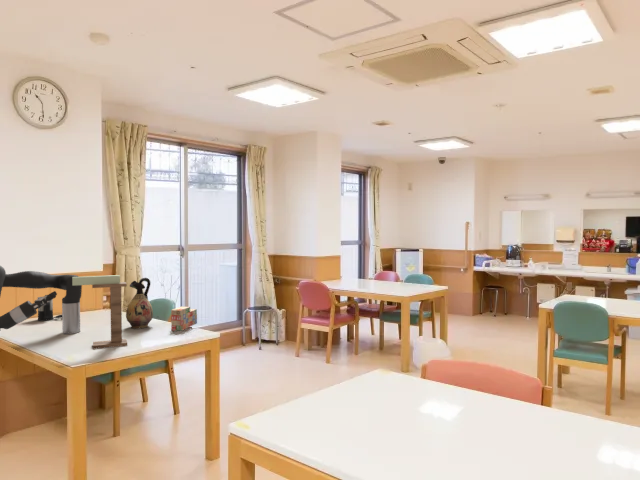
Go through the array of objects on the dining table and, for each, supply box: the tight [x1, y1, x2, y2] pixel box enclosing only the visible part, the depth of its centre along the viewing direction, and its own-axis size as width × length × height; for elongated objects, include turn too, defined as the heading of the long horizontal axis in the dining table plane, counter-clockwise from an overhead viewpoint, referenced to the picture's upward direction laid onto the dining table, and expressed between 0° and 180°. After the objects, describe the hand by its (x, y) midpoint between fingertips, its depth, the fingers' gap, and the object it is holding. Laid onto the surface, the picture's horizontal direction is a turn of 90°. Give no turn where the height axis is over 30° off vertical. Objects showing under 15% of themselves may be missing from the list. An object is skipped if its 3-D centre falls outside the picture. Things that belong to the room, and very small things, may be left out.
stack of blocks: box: [170, 306, 198, 332], centre depth 302 cm, size 21×6×12 cm, turn 168°
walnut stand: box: [91, 281, 128, 350], centre depth 256 cm, size 9×16×32 cm, turn 115°
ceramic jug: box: [125, 277, 154, 329], centre depth 302 cm, size 17×15×30 cm
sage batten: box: [72, 274, 121, 286], centre depth 253 cm, size 3×22×4 cm, turn 115°
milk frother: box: [37, 296, 62, 322], centre depth 325 cm, size 14×16×15 cm
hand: (55, 293), depth 246 cm, fingers open, 8 cm apart
